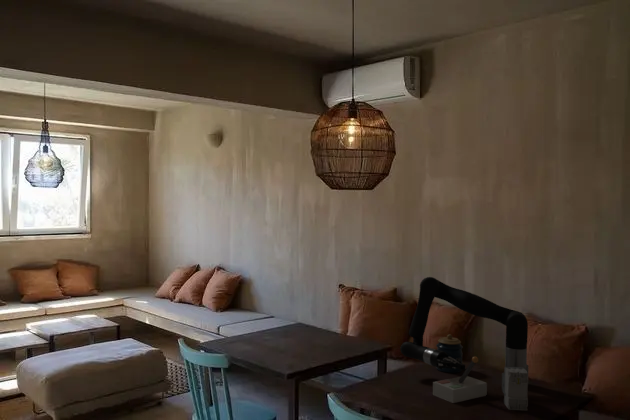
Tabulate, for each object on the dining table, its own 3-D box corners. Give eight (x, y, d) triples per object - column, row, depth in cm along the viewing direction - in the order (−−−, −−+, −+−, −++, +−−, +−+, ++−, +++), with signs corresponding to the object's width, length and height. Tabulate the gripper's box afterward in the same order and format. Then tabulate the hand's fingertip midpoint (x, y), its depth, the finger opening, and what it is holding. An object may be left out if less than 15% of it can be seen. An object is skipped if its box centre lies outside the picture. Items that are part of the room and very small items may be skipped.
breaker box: (465, 387, 257) (466, 374, 257) (486, 395, 247) (486, 382, 247) (432, 394, 247) (433, 381, 247) (453, 403, 237) (453, 389, 237)
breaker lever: (460, 378, 248) (476, 354, 241) (464, 383, 246) (480, 359, 239) (456, 379, 247) (472, 355, 239) (460, 384, 245) (476, 360, 237)
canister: (436, 372, 281) (437, 336, 281) (435, 365, 294) (435, 330, 294) (463, 374, 279) (464, 337, 279) (461, 366, 292) (461, 332, 291)
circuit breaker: (518, 398, 244) (519, 363, 244) (527, 410, 230) (528, 373, 230) (500, 397, 245) (501, 362, 244) (508, 409, 230) (509, 372, 230)
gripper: (424, 351, 256) (453, 360, 241) (446, 348, 263) (475, 356, 248) (424, 368, 256) (452, 378, 241) (445, 364, 263) (474, 374, 248)
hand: (463, 367), depth 245 cm, fingers closed
